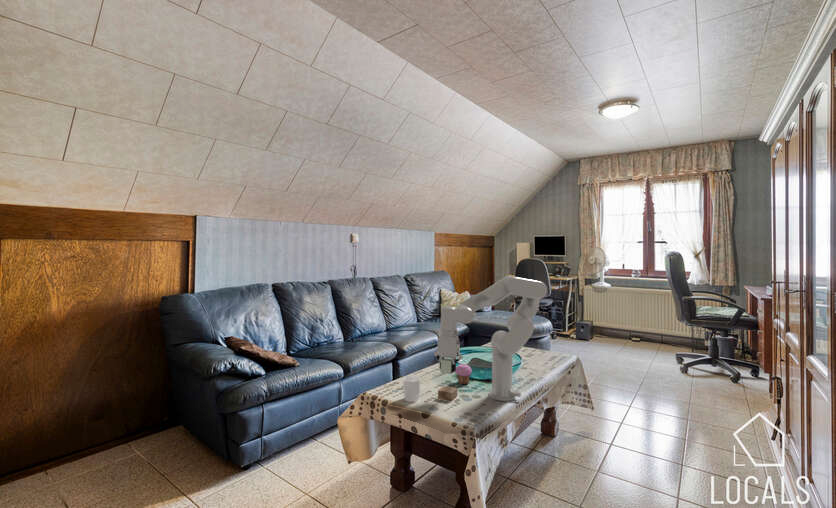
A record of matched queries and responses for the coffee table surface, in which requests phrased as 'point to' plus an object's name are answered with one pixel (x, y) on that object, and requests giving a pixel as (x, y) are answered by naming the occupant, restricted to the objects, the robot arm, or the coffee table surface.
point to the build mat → (449, 401)
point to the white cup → (411, 388)
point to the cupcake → (463, 373)
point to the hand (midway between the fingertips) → (447, 370)
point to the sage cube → (446, 365)
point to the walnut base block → (447, 393)
